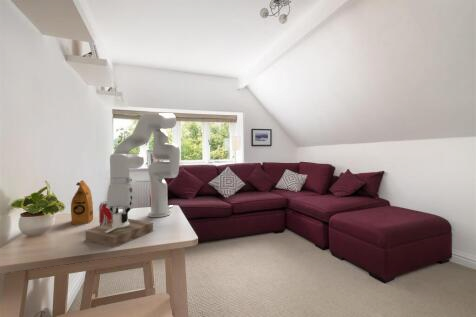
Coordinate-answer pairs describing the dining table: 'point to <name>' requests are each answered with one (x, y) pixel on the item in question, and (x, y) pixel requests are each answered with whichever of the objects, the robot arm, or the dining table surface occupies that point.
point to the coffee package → (82, 205)
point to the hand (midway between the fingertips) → (120, 221)
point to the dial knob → (118, 222)
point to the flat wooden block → (119, 233)
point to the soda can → (105, 214)
